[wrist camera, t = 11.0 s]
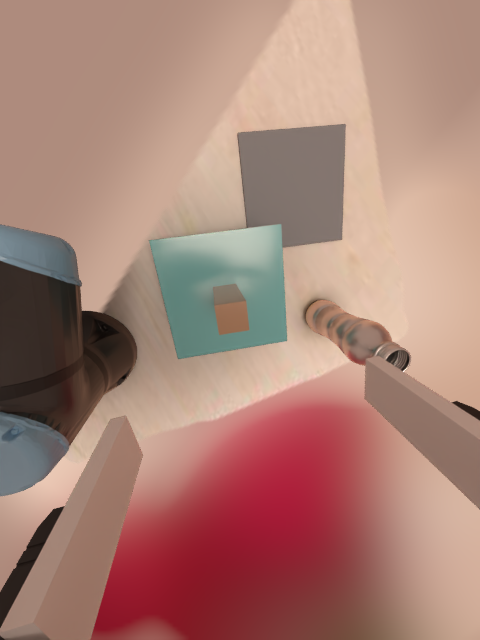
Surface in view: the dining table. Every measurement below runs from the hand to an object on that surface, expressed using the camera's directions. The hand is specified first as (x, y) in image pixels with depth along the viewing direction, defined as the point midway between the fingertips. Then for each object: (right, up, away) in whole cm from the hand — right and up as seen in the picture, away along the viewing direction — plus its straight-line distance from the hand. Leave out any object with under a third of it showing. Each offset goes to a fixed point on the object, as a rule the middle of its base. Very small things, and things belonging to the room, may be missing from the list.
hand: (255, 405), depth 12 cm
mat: (+8, +26, +25) cm, 37 cm away
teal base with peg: (-4, +11, +28) cm, 30 cm away
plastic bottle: (+15, +6, +33) cm, 37 cm away
